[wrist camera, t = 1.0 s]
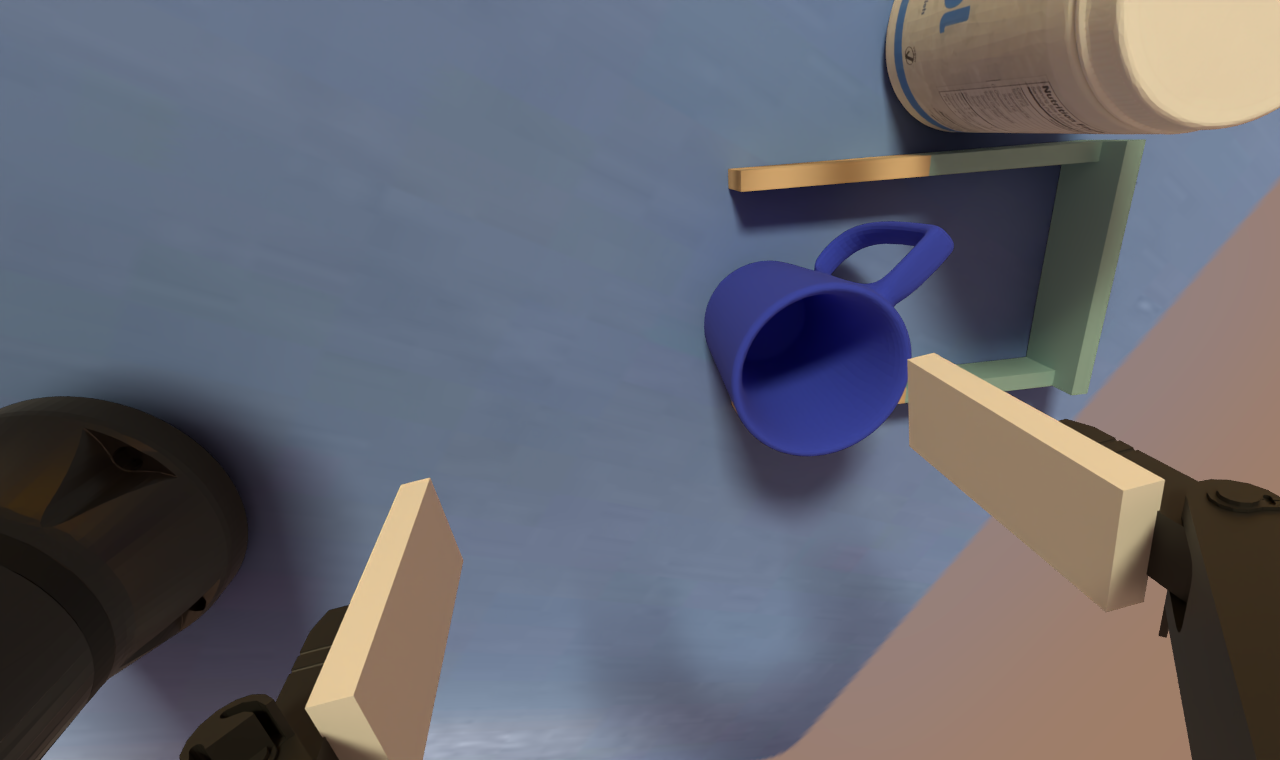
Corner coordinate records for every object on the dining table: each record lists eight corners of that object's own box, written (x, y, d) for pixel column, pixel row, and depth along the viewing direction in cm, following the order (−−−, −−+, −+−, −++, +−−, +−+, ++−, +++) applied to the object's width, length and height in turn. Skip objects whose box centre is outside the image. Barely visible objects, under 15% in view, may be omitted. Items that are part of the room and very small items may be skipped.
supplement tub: (927, -108, 29) (1257, -335, 15) (1086, -35, 31) (1503, -177, 17) (847, 105, 32) (1059, 77, 18) (995, 159, 34) (1286, 170, 20)
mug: (898, 259, 35) (1017, 301, 26) (753, 403, 38) (815, 489, 28) (810, 159, 32) (907, 166, 23) (659, 322, 35) (694, 386, 26)
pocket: (884, 387, 38) (918, 413, 35) (905, 154, 33) (948, 155, 29) (1037, 369, 39) (1087, 393, 35) (1082, 139, 34) (1145, 139, 30)
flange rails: (731, 404, 37) (742, 422, 35) (728, 169, 32) (740, 171, 30) (884, 387, 38) (904, 403, 36) (905, 154, 33) (930, 155, 31)
